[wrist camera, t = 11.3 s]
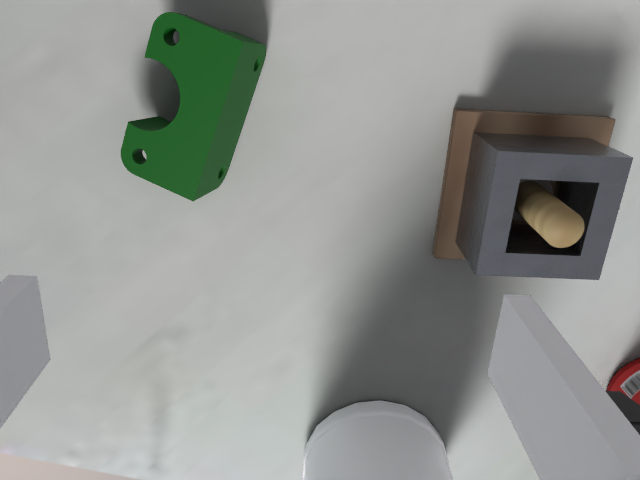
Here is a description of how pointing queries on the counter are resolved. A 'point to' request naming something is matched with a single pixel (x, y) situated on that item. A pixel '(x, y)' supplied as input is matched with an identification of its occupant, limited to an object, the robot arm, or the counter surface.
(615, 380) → the canned food
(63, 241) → the counter surface
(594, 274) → the ring
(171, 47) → the clamp
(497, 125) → the post
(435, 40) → the counter surface
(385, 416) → the bottle
